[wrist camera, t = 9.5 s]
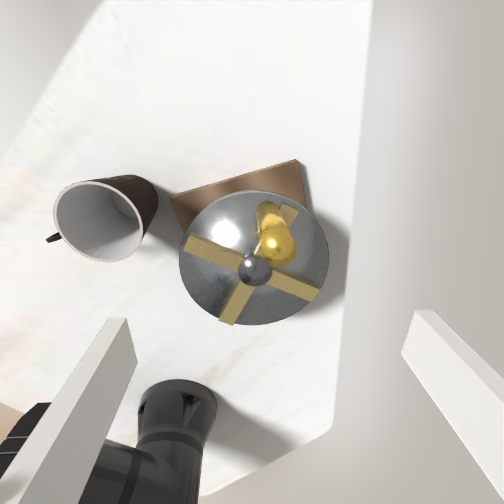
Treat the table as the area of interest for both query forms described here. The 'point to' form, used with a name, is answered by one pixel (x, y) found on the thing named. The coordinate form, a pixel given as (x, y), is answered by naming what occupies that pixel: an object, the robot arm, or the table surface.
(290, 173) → the wheel stand
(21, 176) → the table surface
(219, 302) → the handwheel
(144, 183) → the coffee mug
